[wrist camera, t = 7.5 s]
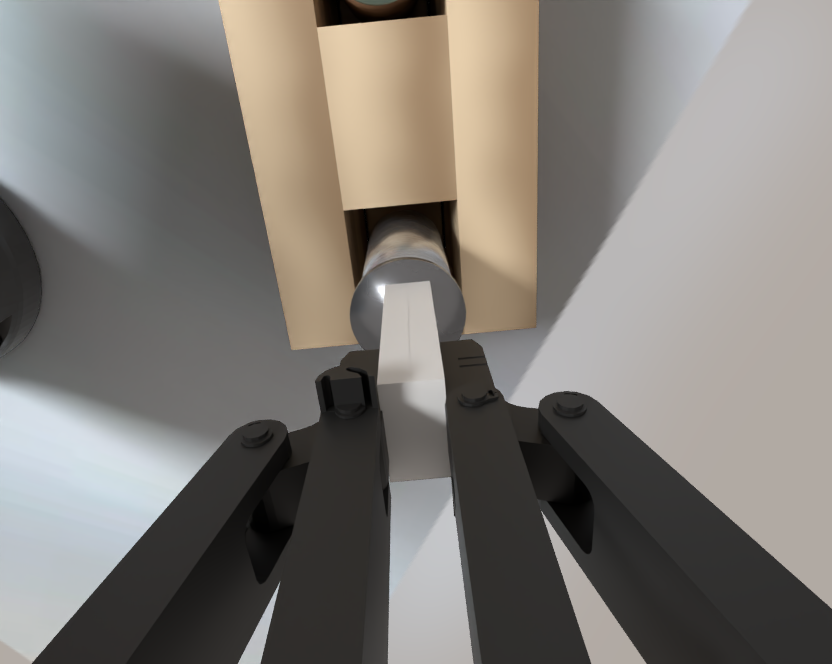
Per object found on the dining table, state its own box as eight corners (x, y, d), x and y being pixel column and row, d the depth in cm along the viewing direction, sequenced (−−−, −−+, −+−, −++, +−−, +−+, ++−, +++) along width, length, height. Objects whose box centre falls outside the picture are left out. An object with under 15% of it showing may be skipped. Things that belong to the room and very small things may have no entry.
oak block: (319, 282, 35) (291, 350, 26) (254, -94, 27) (179, -187, 18) (500, 265, 35) (536, 327, 26) (492, -117, 27) (540, -224, 17)
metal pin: (370, 287, 27) (357, 372, 19) (359, 209, 26) (341, 266, 17) (447, 280, 27) (468, 362, 19) (442, 201, 26) (463, 254, 17)
